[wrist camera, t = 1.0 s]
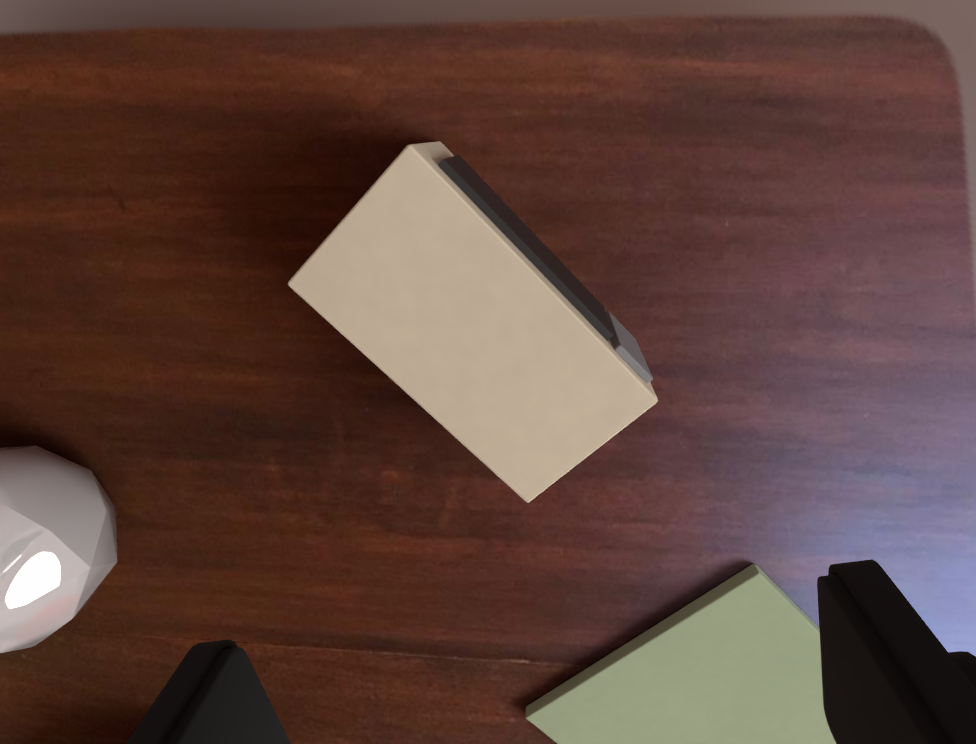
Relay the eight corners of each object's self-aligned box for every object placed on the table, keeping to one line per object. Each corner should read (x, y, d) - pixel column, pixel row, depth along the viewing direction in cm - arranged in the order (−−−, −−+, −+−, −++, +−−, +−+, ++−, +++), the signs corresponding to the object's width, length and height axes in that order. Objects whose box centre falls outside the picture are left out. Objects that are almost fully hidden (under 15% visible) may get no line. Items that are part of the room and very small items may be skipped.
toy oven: (444, 134, 24) (415, 135, 18) (640, 340, 26) (666, 396, 21) (339, 251, 26) (285, 284, 21) (530, 432, 29) (527, 504, 23)
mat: (753, 562, 30) (759, 572, 30) (928, 735, 34) (937, 749, 33) (525, 706, 35) (524, 718, 35) (696, 844, 39) (699, 858, 38)
